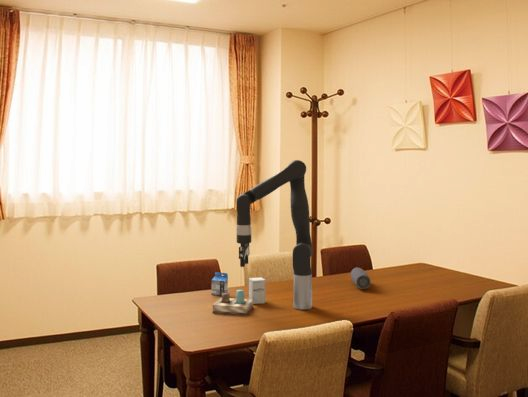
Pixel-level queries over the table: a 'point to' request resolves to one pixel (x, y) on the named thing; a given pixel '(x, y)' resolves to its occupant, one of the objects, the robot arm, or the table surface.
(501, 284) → the table surface
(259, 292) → the supplement box
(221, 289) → the label tape box
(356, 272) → the bluetooth speaker
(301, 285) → the robot arm
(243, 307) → the peg board
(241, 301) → the teal pin
